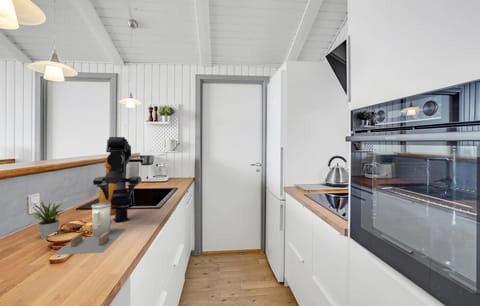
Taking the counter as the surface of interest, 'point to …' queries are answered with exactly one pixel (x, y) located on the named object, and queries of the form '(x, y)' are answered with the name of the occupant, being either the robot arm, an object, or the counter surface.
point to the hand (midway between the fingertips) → (118, 199)
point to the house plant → (48, 219)
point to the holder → (90, 243)
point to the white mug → (101, 219)
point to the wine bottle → (111, 189)
